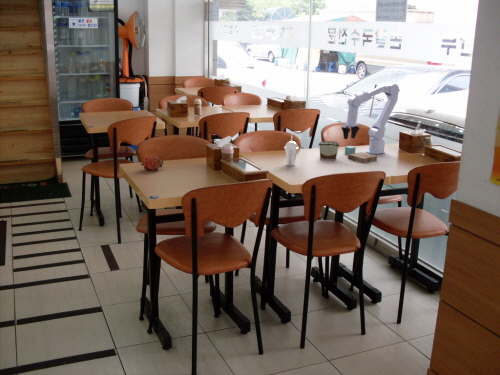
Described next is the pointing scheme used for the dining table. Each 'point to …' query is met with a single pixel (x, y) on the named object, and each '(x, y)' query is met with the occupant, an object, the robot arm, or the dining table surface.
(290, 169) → the dining table surface
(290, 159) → the cup with straw
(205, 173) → the dining table surface
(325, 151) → the food container
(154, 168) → the dragon fruit
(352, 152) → the teal cube
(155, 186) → the dining table surface
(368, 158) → the walnut block
